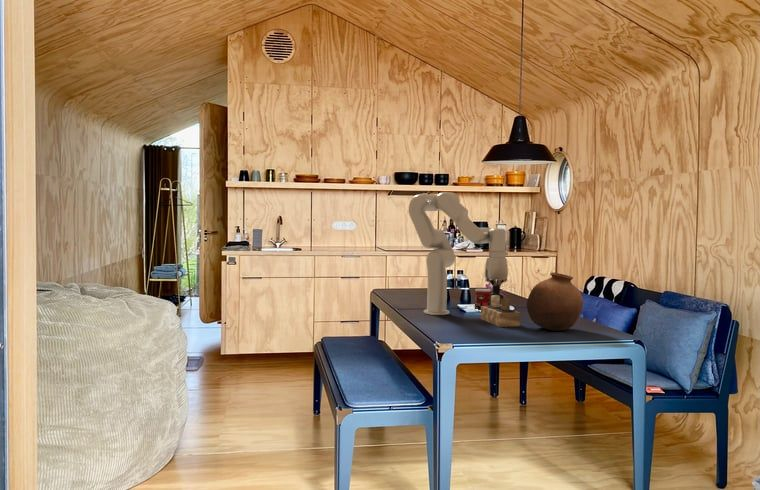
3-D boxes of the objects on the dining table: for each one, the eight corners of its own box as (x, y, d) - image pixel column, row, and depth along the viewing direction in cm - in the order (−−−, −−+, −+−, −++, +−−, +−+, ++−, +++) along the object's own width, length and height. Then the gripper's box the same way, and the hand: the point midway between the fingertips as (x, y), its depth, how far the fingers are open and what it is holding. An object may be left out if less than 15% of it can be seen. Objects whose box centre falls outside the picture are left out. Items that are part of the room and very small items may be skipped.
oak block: (480, 319, 289) (481, 305, 289) (499, 318, 292) (500, 304, 292) (499, 326, 271) (500, 312, 271) (519, 326, 274) (520, 311, 274)
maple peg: (489, 309, 287) (489, 295, 287) (497, 309, 288) (497, 295, 288) (493, 310, 283) (493, 296, 283) (501, 310, 285) (501, 296, 284)
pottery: (517, 326, 274) (519, 270, 272) (560, 323, 282) (562, 269, 280) (548, 336, 252) (550, 276, 251) (593, 333, 261) (596, 275, 259)
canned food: (472, 309, 315) (472, 288, 314) (486, 309, 317) (486, 288, 316) (478, 312, 307) (479, 290, 307) (493, 312, 310) (493, 290, 309)
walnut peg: (498, 312, 278) (499, 298, 278) (506, 312, 279) (507, 298, 279) (503, 314, 274) (503, 299, 274) (511, 314, 275) (511, 299, 275)
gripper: (507, 254, 290) (506, 292, 291) (478, 254, 286) (477, 293, 287) (515, 255, 283) (514, 295, 284) (486, 255, 279) (485, 295, 280)
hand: (495, 294), depth 285 cm, fingers closed
